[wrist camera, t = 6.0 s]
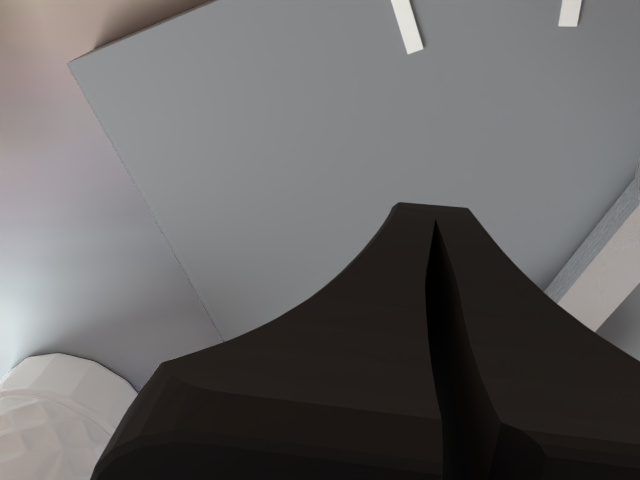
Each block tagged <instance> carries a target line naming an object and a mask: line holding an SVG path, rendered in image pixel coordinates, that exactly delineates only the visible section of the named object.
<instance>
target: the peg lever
mask: <svg viewBox="0 0 640 480" xmlns="http://www.w3.org/2000/svg"><path fill="white" fill-rule="evenodd" d="M639 283H640V158H639V160H638V163H637V166H636V171H635V178H634V180H633V181H632V182H631V183H630V185H629V186H628V187H627V188H626V190H625V191H624V192H623V193H622V195H621V196H620V197H619V198H618V200H617V201H616V202H615V203H614V205H613V206H612V207H611V208H610V210H609V211H608V212H607V213H606V215H605V216H604V217H603V218H602V220H601V221H600V222H599V223H598V225H597V226H596V227H595V228H594V230H593V231H592V232H591V233H590V235H589V236H588V237H587V238H586V240H585V241H584V242H583V243H582V245H581V246H580V247H579V248H578V250H577V251H576V252H575V253H574V255H573V256H572V257H571V258H570V260H569V261H568V262H567V263H566V265H565V266H564V267H563V268H562V270H561V271H560V272H559V273H558V275H557V276H556V277H555V278H554V280H553V281H552V282H551V283H550V285H549V286H548V287H547V288H546V290H545V291H544V293H545V294H546V295H547V296H549V297H550V298H551V299H552V300H553V301H554V302H556V303H557V304H558V305H559V306H561V307H562V308H563V309H564V310H566V311H567V312H568V313H570V314H571V315H572V316H573V317H575V318H576V319H577V320H579V321H580V322H581V323H582V324H584V325H585V326H586V327H588V328H589V329H591V330H592V331H594V332H595V331H596V330H597V329H598V328H599V327H600V326H601V325H602V324H603V323H604V321H605V320H606V319H607V318H608V317H609V316H610V315H611V314H612V313H613V311H614V310H615V309H616V308H617V307H618V306H619V305H620V304H621V303H622V302H623V300H624V299H625V298H626V297H627V296H628V295H629V294H630V293H631V292H632V290H633V289H634V288H635V287H636V286H637V285H638V284H639Z"/></svg>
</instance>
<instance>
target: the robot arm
mask: <svg viewBox="0 0 640 480" xmlns="http://www.w3.org/2000/svg"><path fill="white" fill-rule="evenodd" d="M90 480H640V361H639V360H637V359H635V358H634V357H632V356H631V355H629V354H627V353H626V352H624V351H623V350H621V349H620V348H618V347H616V346H615V345H613V344H612V343H610V342H609V341H607V340H605V339H604V338H602V337H601V336H599V335H598V334H597V333H595V332H594V331H592V330H591V329H589V328H588V327H586V326H585V325H584V324H582V323H581V322H580V321H579V320H577V319H576V318H575V317H573V316H572V315H571V314H570V313H568V312H567V311H566V310H564V309H563V308H562V307H561V306H559V305H558V304H557V303H556V302H554V301H553V300H552V299H551V298H550V297H549V296H547V295H546V294H545V293H544V292H543V291H542V290H541V289H540V288H539V287H538V286H537V285H536V284H535V283H533V282H532V281H531V280H530V279H529V278H528V277H527V276H526V275H525V274H524V273H523V272H522V271H521V270H520V269H519V268H518V267H517V266H516V265H515V264H514V263H513V262H512V260H511V259H510V258H509V257H508V256H507V255H506V254H505V253H504V252H503V250H502V249H501V248H500V247H499V246H498V245H497V243H496V242H495V241H494V240H493V238H492V237H491V236H490V235H489V234H488V232H487V231H486V230H485V228H484V227H483V226H482V225H481V223H480V222H479V221H478V220H477V218H476V217H475V216H474V215H473V213H472V212H471V211H470V210H469V208H465V207H453V206H441V205H429V204H417V203H406V202H398V203H397V204H396V205H394V206H393V207H392V209H391V211H390V213H389V215H388V217H387V218H386V220H385V222H384V223H383V224H382V226H381V227H380V229H379V230H378V231H377V233H376V234H375V235H374V236H373V238H372V239H371V240H370V241H369V243H368V244H367V245H366V246H365V247H364V249H363V250H362V251H361V252H360V253H359V254H358V255H357V256H356V257H355V258H354V259H353V260H352V261H351V262H350V263H349V264H348V265H347V266H346V267H345V268H344V269H343V270H342V271H341V272H340V273H339V274H338V275H337V276H336V277H335V278H334V279H332V280H331V281H330V282H329V283H328V284H326V285H325V286H324V287H323V288H322V289H320V290H319V291H318V292H316V293H315V294H314V295H312V296H311V297H310V298H308V299H307V300H305V301H304V302H302V303H301V304H299V305H298V306H296V307H294V308H293V309H291V310H289V311H288V312H286V313H284V314H283V315H281V316H279V317H278V318H276V319H274V320H272V321H270V322H268V323H266V324H264V325H262V326H260V327H258V328H256V329H254V330H252V331H249V332H247V333H245V334H242V335H240V336H238V337H236V338H233V339H231V340H228V341H226V342H223V343H221V344H218V345H215V346H212V347H209V348H206V349H203V350H200V351H197V352H194V353H191V354H188V355H185V356H182V357H179V358H176V359H173V360H169V361H166V362H163V363H161V364H160V365H159V367H158V368H157V370H156V371H155V373H154V374H153V375H152V377H151V378H150V380H149V381H148V382H147V383H146V385H145V386H144V387H143V388H142V389H141V391H140V392H139V394H138V395H137V396H136V398H135V399H134V401H133V402H132V404H131V405H130V406H129V408H128V409H127V411H126V413H125V414H124V416H123V418H122V419H121V421H120V423H119V425H118V426H117V428H116V430H115V432H114V434H113V435H112V437H111V439H110V441H109V442H108V444H107V446H106V448H105V449H104V451H103V453H102V455H101V456H100V458H99V460H98V462H97V463H96V465H95V467H94V470H93V473H92V475H91V478H90Z"/></svg>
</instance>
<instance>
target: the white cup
mask: <svg viewBox="0 0 640 480" xmlns="http://www.w3.org/2000/svg"><path fill="white" fill-rule="evenodd" d="M137 395H138V393H137V392H136V391H135V390H134V389H133V387H132V386H131V385H130V384H129V383H128V382H127V381H126V380H125V379H123V378H122V377H120V376H118V375H117V374H115V373H113V372H112V371H110V370H108V369H107V368H105V367H103V366H102V365H100V364H98V363H97V362H95V361H91V360H87V359H83V358H79V357H74V356H70V355H66V354H62V353H54V354H46V355H39V356H32V357H27V358H25V359H24V360H23V361H22V362H20V363H19V364H18V365H17V366H15V367H14V368H13V369H12V370H10V371H9V372H8V373H7V374H6V375H5V376H4V377H3V378H2V379H1V380H0V480H90V478H91V475H92V473H93V470H94V467H95V465H96V463H97V462H98V460H99V458H100V456H101V455H102V453H103V451H104V449H105V448H106V446H107V444H108V442H109V441H110V439H111V437H112V435H113V434H114V432H115V430H116V428H117V426H118V425H119V423H120V421H121V419H122V418H123V416H124V414H125V413H126V411H127V409H128V408H129V406H130V405H131V404H132V402H133V401H134V399H135V398H136V396H137Z"/></svg>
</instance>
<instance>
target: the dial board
mask: <svg viewBox="0 0 640 480" xmlns="http://www.w3.org/2000/svg"><path fill="white" fill-rule="evenodd" d="M67 66H68V68H69V69H70V71H71V73H72V75H73V77H74V78H75V80H76V82H77V84H78V85H79V87H80V89H81V91H82V92H83V94H84V96H85V98H86V99H87V101H88V103H89V105H90V107H91V108H92V110H93V112H94V114H95V115H96V117H97V119H98V121H99V122H100V124H101V126H102V128H103V129H104V131H105V133H106V135H107V137H108V138H109V140H110V142H111V144H112V145H113V147H114V149H115V151H116V152H117V154H118V156H119V158H120V159H121V161H122V163H123V165H124V167H125V168H126V170H127V172H128V174H129V175H130V177H131V179H132V181H133V182H134V184H135V186H136V188H137V189H138V191H139V193H140V195H141V197H142V198H143V200H144V202H145V204H146V205H147V207H148V209H149V211H150V212H151V214H152V216H153V218H154V219H155V221H156V223H157V225H158V227H159V228H160V230H161V232H162V234H163V235H164V237H165V239H166V241H167V242H168V244H169V246H170V248H171V249H172V251H173V253H174V255H175V257H176V258H177V260H178V262H179V264H180V265H181V267H182V269H183V271H184V272H185V274H186V276H187V278H188V279H189V281H190V283H191V285H192V287H193V288H194V290H195V292H196V294H197V295H198V297H199V299H200V301H201V302H202V304H203V306H204V308H205V309H206V311H207V313H208V315H209V317H210V318H211V320H212V322H213V324H214V325H215V327H216V329H217V331H218V332H219V334H220V336H221V338H222V339H223V341H224V342H226V341H228V340H231V339H233V338H236V337H238V336H240V335H242V334H245V333H247V332H249V331H252V330H254V329H256V328H258V327H260V326H262V325H264V324H266V323H268V322H270V321H272V320H274V319H276V318H278V317H279V316H281V315H283V314H284V313H286V312H288V311H289V310H291V309H293V308H294V307H296V306H298V305H299V304H301V303H302V302H304V301H305V300H307V299H308V298H310V297H311V296H312V295H314V294H315V293H316V292H318V291H319V290H320V289H322V288H323V287H324V286H325V285H326V284H328V283H329V282H330V281H331V280H332V279H334V278H335V277H336V276H337V275H338V274H339V273H340V272H341V271H342V270H343V269H344V268H345V267H346V266H347V265H348V264H349V263H350V262H351V261H352V260H353V259H354V258H355V257H356V256H357V255H358V254H359V253H360V252H361V251H362V250H363V249H364V247H365V246H366V245H367V244H368V243H369V241H370V240H371V239H372V238H373V236H374V235H375V234H376V233H377V231H378V230H379V229H380V227H381V226H382V224H383V223H384V222H385V220H386V218H387V217H388V215H389V213H390V211H391V209H392V207H393V206H394V205H396V204H397V203H398V202H406V203H417V204H429V205H441V206H453V207H465V208H469V210H470V211H471V212H472V213H473V215H474V216H475V217H476V218H477V220H478V221H479V222H480V223H481V225H482V226H483V227H484V228H485V230H486V231H487V232H488V234H489V235H490V236H491V237H492V238H493V240H494V241H495V242H496V243H497V245H498V246H499V247H500V248H501V249H502V250H503V252H504V253H505V254H506V255H507V256H508V257H509V258H510V259H511V260H512V262H513V263H514V264H515V265H516V266H517V267H518V268H519V269H520V270H521V271H522V272H523V273H524V274H525V275H526V276H527V277H528V278H529V279H530V280H531V281H532V282H533V283H535V284H536V285H537V286H538V287H539V288H540V289H541V290H542V291H543V292H544V291H545V290H546V288H547V287H548V286H549V285H550V283H551V282H552V281H553V280H554V278H555V277H556V276H557V275H558V273H559V272H560V271H561V270H562V268H563V267H564V266H565V265H566V263H567V262H568V261H569V260H570V258H571V257H572V256H573V255H574V253H575V252H576V251H577V250H578V248H579V247H580V246H581V245H582V243H583V242H584V241H585V240H586V238H587V237H588V236H589V235H590V233H591V232H592V231H593V230H594V228H595V227H596V226H597V225H598V223H599V222H600V221H601V220H602V218H603V217H604V216H605V215H606V213H607V212H608V211H609V210H610V208H611V207H612V206H613V205H614V203H615V202H616V201H617V200H618V198H619V197H620V196H621V195H622V193H623V192H624V191H625V190H626V188H627V187H628V186H629V185H630V183H631V182H632V181H633V180H634V178H635V171H636V166H637V163H638V160H639V158H640V0H211V1H208V2H206V3H204V4H201V5H199V6H196V7H194V8H192V9H189V10H187V11H184V12H182V13H180V14H177V15H175V16H173V17H170V18H168V19H165V20H163V21H161V22H158V23H156V24H153V25H151V26H149V27H146V28H144V29H141V30H139V31H137V32H134V33H132V34H130V35H127V36H125V37H122V38H120V39H118V40H115V41H113V42H110V43H108V44H106V45H103V46H101V47H99V48H96V49H94V50H91V51H90V52H88V53H86V54H84V55H82V56H80V57H78V58H76V59H74V60H72V61H70V62H68V63H67ZM595 333H597V334H598V335H599V336H601V337H602V338H604V339H605V340H607V341H609V342H610V343H612V344H613V345H615V346H616V347H618V348H620V349H621V350H623V351H624V352H626V353H627V354H629V355H631V356H632V357H634V358H635V359H637V360H639V361H640V283H639V284H638V285H637V286H636V287H635V288H634V289H633V290H632V292H631V293H630V294H629V295H628V296H627V297H626V298H625V299H624V300H623V302H622V303H621V304H620V305H619V306H618V307H617V308H616V309H615V310H614V311H613V313H612V314H611V315H610V316H609V317H608V318H607V319H606V320H605V321H604V323H603V324H602V325H601V326H600V327H599V328H598V329H597V330H596V331H595Z"/></svg>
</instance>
